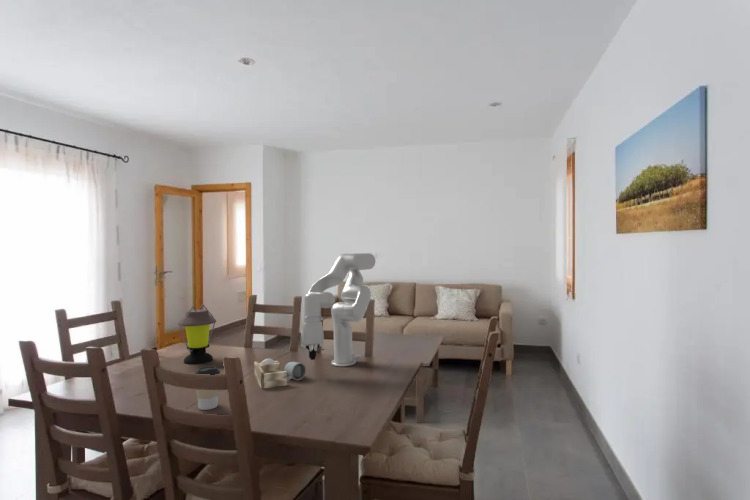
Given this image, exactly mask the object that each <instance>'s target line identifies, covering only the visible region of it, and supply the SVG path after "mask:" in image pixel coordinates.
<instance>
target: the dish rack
mask: <svg viewBox="0 0 750 500" xmlns="http://www.w3.org/2000/svg"><path fill="white" fill-rule="evenodd" d="M274 361H275V362H276V363H274V364H266V365H260V364H261V362H258V361H257V360H256V361H254V362H253V369H254V378H255V380H256V382H257V384H258V385H259V387H260V389H261V390H263V389H271V388H275V387H276V388H277V387H283V386H287V385H288V381H287V371H284V370H283V371H282V370H281V363H280V362H279V361H278V360H274Z"/></svg>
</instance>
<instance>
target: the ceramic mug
mask: <svg viewBox="0 0 750 500" xmlns="http://www.w3.org/2000/svg"><path fill="white" fill-rule="evenodd" d="M283 371H287V382H288V381H290V380H295V381H300V380H302V379H304V377H305V376H306V372H307V368H306V366H305V364H304V363H302V362H298V361H290V362H287V363H286V364H285V365H284V369H283Z"/></svg>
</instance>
